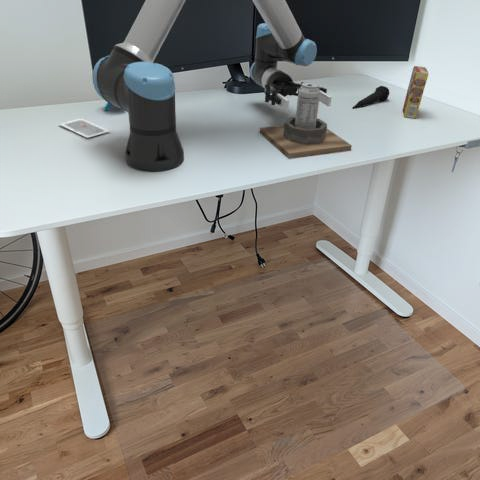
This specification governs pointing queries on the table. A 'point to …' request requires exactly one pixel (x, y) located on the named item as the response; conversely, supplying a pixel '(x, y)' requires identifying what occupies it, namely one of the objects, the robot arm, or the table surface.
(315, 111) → the energy drink can
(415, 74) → the candy box
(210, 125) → the table surface
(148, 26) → the robot arm
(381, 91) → the microphone
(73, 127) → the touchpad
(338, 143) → the can dock
